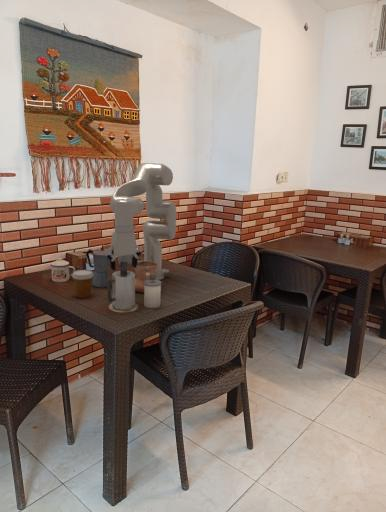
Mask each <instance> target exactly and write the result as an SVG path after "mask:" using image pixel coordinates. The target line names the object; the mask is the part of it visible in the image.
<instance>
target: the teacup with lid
mask: <svg viewBox="0 0 386 512" xmlns="http://www.w3.org/2000/svg"><path fill="white" fill-rule="evenodd" d="M50 268H51V281H52V282H54V283H65V282H68V281H69V280H70V276H71V277H72V275H73V272H74V271H76V268H75V267H74V266H73V265H72V266H71V265H70V262H69V261H67V260H65V259H63V258H62V257H59V258H58V259H56V260H55V261H52V262H51V263H50ZM70 268H71V269H72V270H73V272H71V273H70Z"/></svg>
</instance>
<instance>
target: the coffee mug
mask: <svg viewBox="0 0 386 512" xmlns="http://www.w3.org/2000/svg"><path fill="white" fill-rule="evenodd" d="M137 251H138V248H136V252H137ZM140 256H141V254H140V255H139V257H138V259H139V258H140ZM132 257H133V256H132V255H128V256H119V257H117V260H118V261H117V264H119V265H120V262H121V261H127V266H129V265H130V266H132Z"/></svg>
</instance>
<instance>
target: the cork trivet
mask: <svg viewBox="0 0 386 512" xmlns="http://www.w3.org/2000/svg"><path fill="white" fill-rule="evenodd" d="M138 308H139V304H137V303H136V302H135V307H134V308H133V309H131V310H127V311H119V310H115V309H113V308H112V303H110V304H109V305H108V309H109V310H110V311H111V312H116V313H129V312H130V313H131V312H134V311H136V310H138Z"/></svg>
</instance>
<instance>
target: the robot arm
mask: <svg viewBox="0 0 386 512" xmlns="http://www.w3.org/2000/svg"><path fill="white" fill-rule="evenodd" d="M173 179H174V174H173V171H172V169H171V168H170V167H168V166H167V165H165V164H163V163H155V162H154V163H153V162H150V163H149V162H144V163H140V164H139V165H138V166H137V168H136V170H135V172H134V173H133V175H132V178H131V180H129V181H127V182H124V183H123V184H122V185H119V186H118V187H117V188H116V189H115V191H114V193H112V196H111V198H110V202H109V208H110V209H109V210H111V212H113V213H114V231H113V232H112V233H111V234H112V235H111V241H110V247H108V248H107V249H105V251H104V253H105V255H106V257H107V258H108V259H109V260H110V266H109V269H111V270H113V271H116V261H115V260H116V259H117V258H118V257H119V256H128V255H132V256H133V257H132V264H131V266H132V267H133V268H134V267H135V268H136V267H137V261H138V259H139V258H140V256H141V254H142V252H143V255H144V256H143V260H146V261H153V262H156V263H158V269H157V272H156V280H159V281H161V280H163V279H164V278H165V275H164V274H169V273H170V270H169V269H168V268H167V269H166V268H162V257H163V247H162V244H161V243H162V242H160V240H169V241H170V240H174V239H175V237H176V230H177V207H176V204H175V202H174V201H168V200H163V189H162V187H161V186H170V185H171V184H172V182H173ZM144 194H145V203H144V200H143V199H142V198H140V197H137V196H141V195H144ZM144 208H145V213H146V216H147V217H148V218H151V219H159V220H147V221H145V222H144V223H143V225H142V234H143V244H144V245H143V246H144V248H143V247H142V246H141V245H139V244H137V241H136V234H135V233H136V232H135V231H134V229H136V228H137V226H136V225H134V216H138V215H141V214H142V212H143V211H144ZM163 220H164V221H163ZM136 249H138V251H136ZM109 252H111V254H112V255H111V256H110V255H109ZM139 255H140V256H139ZM138 257H139V258H138Z"/></svg>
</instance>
